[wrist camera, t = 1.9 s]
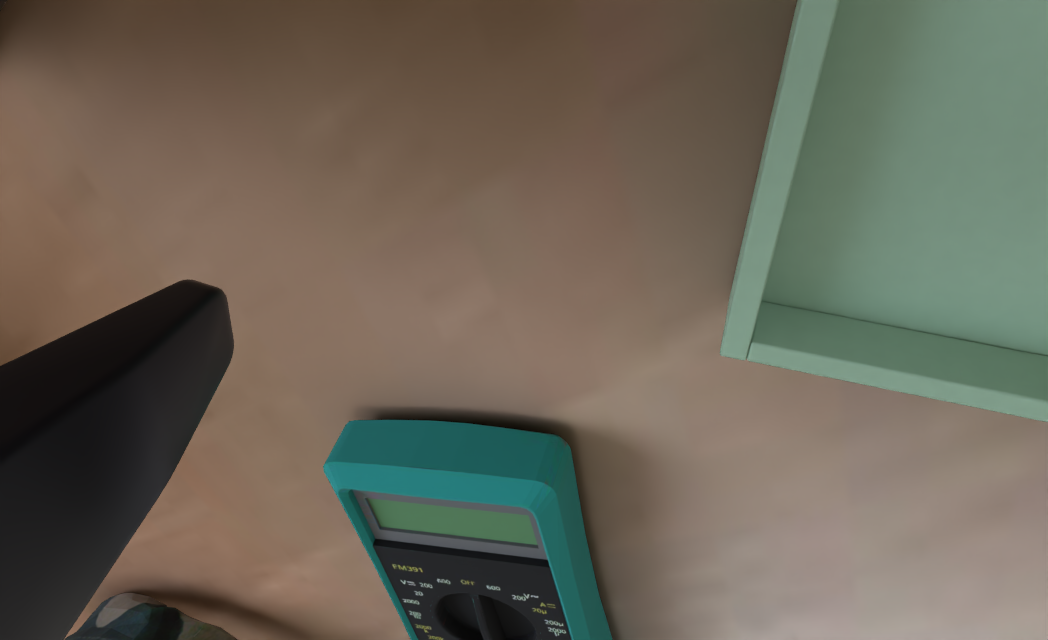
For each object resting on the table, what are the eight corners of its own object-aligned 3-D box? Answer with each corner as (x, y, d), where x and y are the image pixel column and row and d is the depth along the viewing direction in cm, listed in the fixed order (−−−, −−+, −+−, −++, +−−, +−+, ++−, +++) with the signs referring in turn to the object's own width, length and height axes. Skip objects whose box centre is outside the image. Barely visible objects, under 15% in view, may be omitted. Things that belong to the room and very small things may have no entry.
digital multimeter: (458, 655, 39) (434, 723, 37) (345, 401, 30) (305, 474, 28) (634, 682, 37) (619, 757, 35) (572, 416, 27) (547, 496, 25)
